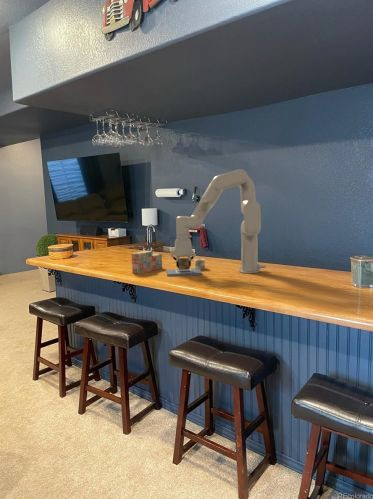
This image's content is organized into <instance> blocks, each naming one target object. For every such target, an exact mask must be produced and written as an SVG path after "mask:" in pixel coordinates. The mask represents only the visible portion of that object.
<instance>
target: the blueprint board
mask: <svg viewBox="0 0 373 499" xmlns="http://www.w3.org/2000/svg"><path fill="white" fill-rule="evenodd" d="M202 275H203V272H202V270H200V269H199V268H197V269H195V268H189V269H188V270H179V268H177V269H176V268H174V269H166V276H167V277H181V276H183V277H184V276H185V277H187V276H202Z"/></svg>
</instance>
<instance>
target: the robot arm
mask: <svg viewBox="0 0 373 499" xmlns="http://www.w3.org/2000/svg"><path fill="white" fill-rule="evenodd" d="M235 187H238V189H239V192H240V194H239V195H240V210H241V213H242V214H243V220H242V222H241V224H240V238H241V239H240V240H241V245H240V246H241V248H240V249H241V250H240V253H241V257H240V258H241V268H238V272H239V273H243V274H257V273H261V269H266V268H267V266H266V264H259V261H258V259H259V258H258V256H259V255H258V254H259V252H258V246H259V243H258V242H259V238H258V234H259V233H260V232H261V229H262V218H261V216H262V215H261V212H262V211H261V205H260V203H259V202H258V201H257V199H256V187H255V184H254V181H253V180H252V178H251V177H250V176H249V175H248V173H247V171H246V170H244V169H240V168H239V169H235V170H232V171H229V172H225V173H221V174H218V175H216V176H214V177H213V178H212V180H211V181H210V183H209V185H208V186H207V188H206V190H205V192H204V193H203V195H202V196H201V198H200V200H199V202H198V204H197V206H196V207H195V209H194V210H193V212H192V213H191V216H187V215H181V216H179V215H178V216H177V217H176V219H175V223H176V224H175V228H176V230H175V232H176V233H175V234H176V239H175V240H174V251H172V253H171V254H170V258H172V259H173V260H175V263H176V265H175V267H176V268H177V269H179V261H178V259H179V258H189V269H191V267H192V260H194V259H195V257H196V256H197V254H196V253H195V251H194V250H193V247H192V246H193V245H192V240H191V238H192V237H193V235H192V234H190V229H194V230H195V229H196V230H197V229H200V228H201V227H202V225H203V222H204V220H205V218H206V216H207V214H208V213H209V211H210V210H211V209H212V208H213V207H214V206H215V204H216V203H217V201H218V200H219V198H220V197H221V194H222V193H223V191H224V190H227V189H231V188H235Z"/></svg>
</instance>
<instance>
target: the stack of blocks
mask: <svg viewBox="0 0 373 499" xmlns="http://www.w3.org/2000/svg"><path fill="white" fill-rule="evenodd" d="M131 267H132V268H131V270H132V274H137V273H138V275H140V274H145V273H148V271H149V272H152V270H153V271H156V269H157V270H160V269H162V268H163V256H162V253H153V251H151V250H141V251H137V252H133V253H132V252H131Z"/></svg>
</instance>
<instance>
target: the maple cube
mask: <svg viewBox="0 0 373 499" xmlns="http://www.w3.org/2000/svg"><path fill="white" fill-rule="evenodd" d="M193 265H194V268H193V269H197V268H199V269H200V271H203V270H206V260H205V259H204V258H193Z"/></svg>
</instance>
